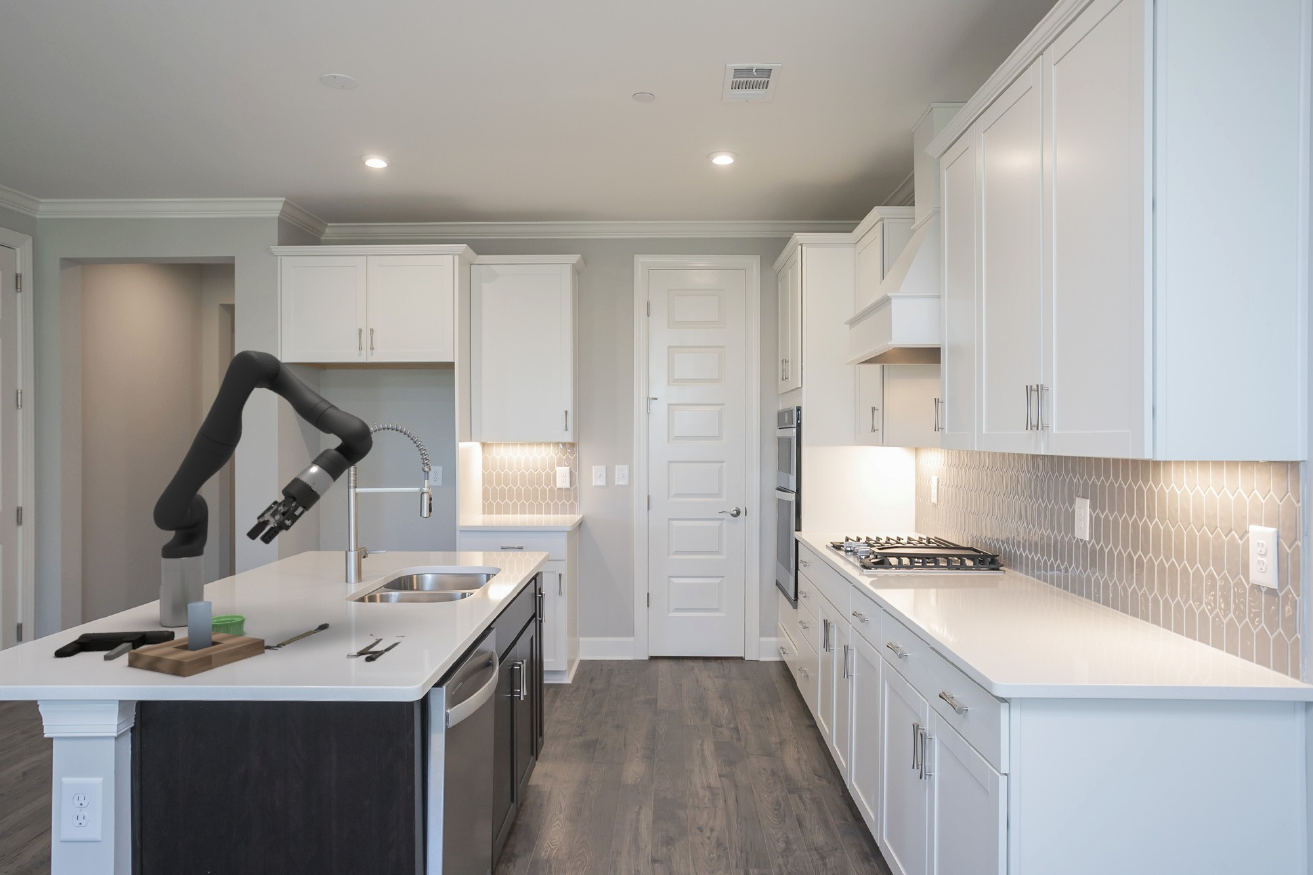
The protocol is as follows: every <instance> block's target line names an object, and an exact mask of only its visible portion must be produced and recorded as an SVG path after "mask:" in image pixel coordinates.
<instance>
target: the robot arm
mask: <svg viewBox="0 0 1313 875" xmlns="http://www.w3.org/2000/svg"><path fill="white" fill-rule="evenodd" d="M254 389H267V390H268V391H271V392H273V393H275V394H276V395H279V396H281V397H282V398H283V399H285V400H286V401H287V402H288V403H289V404H290V405H291V406H292V408H293V409H294V411H295V412H296V413H297V414H298V415H299V416H300V417H301V418H302V419H303V420H304V421H305V422H307V423H309V424H310V425H312V426H313V427H314V428H316V429H318V430H319V431H320V432H322V433H324V434H326V435H332V434H333V435H334V436H336V437H337V438H339V439H340V441H341V442H340V444H339V445H338V446H336V447H334V448H326V449H324V450H323V451H321V453H320V454H319V455H317V456H316V457H315V458H313V460H312V461H311V462H310V464H308V465H307V466H305V467H304V468H303V469H301V471H300V472H298V474H297V475H295V477H294V478H292V479H291V481H289V482H288V483H287V485H285V486H284V487H283V488H282V490H281V494H282V496H284V498H283V499H282V500H281V501H278V500H277V499H276V500H274V501H273V502H271V503H270V505H268V506H267V507H266V508H265V509H264V510H263V511H262V512H261V513H260V514H259V515H258V516H257V517H256V521H257V523H256V524H254V526H253V527H251V528H250V530H248V532H246V534H245V536H247V538H248V539H250V540H252V541H255V540H257V538H258V537H259V536H260V537H259V540H260V541H261V542H262V543H263V544H264V545H269V544H270V543H272V541H274V539H275V538H276V537H277V536H278V535H279V534H280V533H283V532H284V531H285V532H288V531H290V529H291V528H292V527H293V526H294V525H295V523H297V522H298V520H299V519H300V518H301V517H302V516H303V515H304V514H306V513H305V512H308V511H310V509H312V508H313V507H314V506H315V504H317V503H318V502H319V500H320V499H321V498H322V497H323V496H324V495H326V493H327V492H329V489H330V488H331V486H333V484H334V483H335V482H336V481H337V480H338V479H339V478H340V477H341V476H342V475H343V474H344V473H345V471H346V470H348V469H350V468H352V467H353V466H354V465H357V463H359V462H360V461H361V460H363V459H364V458H365V457H366V456H367V455H368V454H369V453H370V451H371V450H372V448H373V443H374V442H373V437H372V432H371V429H370V427H369V425H368V424H367V423H366V422H365V421H364V420H363V419H361V418H359V417H358V416H356V415H353V414H351V413H349V412H347V411H344V410H341V409H340V408H339V407H337V406H336V405H334V403H331V402H330V401H329V400H327V399H325V398H324V396H323V397H322V396H321V395H320V394H319V393H317V392H315V390H313V389H311V388H310V387H309V386H308V385H306V384H305V383H304V382H302V380H300V379H299V378H298V377H297V376H296V375H295V374H294V373H292V371H290V370H289V369H288V368H287V366H286V365H284V364H283V362H281V361H280V360H279V359H278V358H277V357H276V356H275V355H273V354H271V353H268V352H264V351H257V350H247V349H246V350H242V351H240V352H237V354H235V355H234V357H233V358H232V359H231V360H230V363H229V365H228V367H227V370H226V372H225V375H224V377H223V380H222V383H221V385H220V388H219V390H218V393H217V395H216V397H215V399H214V401H213V403H212V406H211V407H210V409H209V412H208V413H207V415H206V417H205V419H204V421H203V423H202V424H201V426H200V428H199V429H198V432H197V433H196V435H195V437H194V439H193V441H192V443H191V445H190V447H189V449H188V451H187V453H186V455H185V457H184V458H183V460H182V462H181V463H180V466H179V467H178V469H177V471H176V472H175V474H174V476H173V478H172V479H171V480H170V481H169V483H168V485H167V486H166V487H165V489H164V491H163V492H162V494H161V495H160V496H159V497H158V500H157V501H156V503H155V505H154V509H153V513H152V516H153V521H154V522H153V523H154V524H155V525H156V527H157V528H158V529H160V530H161V531H166V532H172V531H173V532H174V535H173V537H172V538H171V539H170V540H169V541H168V542H167V543H165V544H164V545H163V546H162V547H161V552H160V553H161V556H160V557H161V562H160V563H161V566H160V567H161V585H160V586H159V624H161V626H163V627H169V628H170V627H173V628H174V627H184V626H188V604H190V603H193V602H200V601H205V598H204V597H205V596H204V595H205V592H204V591H205V590H204V589H205V582H204V581H205V579H204V577H205V574H204V573H205V570H204V569H205V567H204V566H205V565H204V564H205V563H204V562H205V558H204V553H205V552H204V549H205V547H206V545H207V543H208V542H207V540H208V532H209V531H208V530H209V507H208V503H207V501H206V499H205V498H204V497H203V495H201V494H200V493H198V492H199V491H200V489H201V488H202V487H203V486H204V485H205V483H206V482H207V481H209V480H210V479H211V478H212V477H213V476H214V475H215V474H217V473H218V472H219V470H221V469H222V468H223V467H224V466H225V465H226V464H227V463H228V462H229V461H230V459H231V458H232V456H233V454H234V452H235V451H236V448H237V446H238V444H239V443H240V440H241V438H242V434H243V411H244V408H245V405H246V403H247V401H248V399H249V397H250V395H251V394H252V392H253V391H254ZM268 527H269V528H268ZM267 528H268V529H267ZM265 530H266V531H265ZM264 531H265V532H264ZM263 532H264V533H263ZM262 533H263V534H262ZM261 534H262V535H261Z"/></svg>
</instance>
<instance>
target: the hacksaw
mask: <svg viewBox="0 0 1313 875" xmlns="http://www.w3.org/2000/svg"><path fill="white" fill-rule="evenodd" d="M369 636H371V637H374V635H373V634H372V633H371V634H369ZM375 637H378V636H376V635H375ZM396 637H397V638H398V637H399V638H400V637H401V638H402V637H403V638H404V637H405V635H400V636H399V635H398V636H396ZM382 641H383V638H376V639H375V641H373V643H371V644H369V645H367V646H365V647H364V648H362V649H361V650H359V651H357V652H356V654H353V652H351V653H348V654H346V656H347V657H354V658H355V657H358V656H363V655H367V656H365V658H364V661H365V662H374V661H376V660H377V659H378V658H380V656H382V655H384V654H386V652H388V651H389V650H390V649H393V648H394V647H396V646H397V645H399V644H400V643H402V641H398V642H397V641H396V642H394V643H392V644H390V645H389V646H388V647H386V648H384V649H381V650H371V649H372V648H374V647H375V646H377V645H378V644H379V643H380V642H382ZM351 654H353V655H351ZM369 654H370V655H369Z"/></svg>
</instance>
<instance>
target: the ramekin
mask: <svg viewBox="0 0 1313 875" xmlns="http://www.w3.org/2000/svg"><path fill="white" fill-rule="evenodd" d="M245 621H246V616H245V615H243V614H222V615H221V614H220V615H215V616H212V632H218V633H225V634H232V635H238V636H244V628H245V627H244V626H245Z"/></svg>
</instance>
